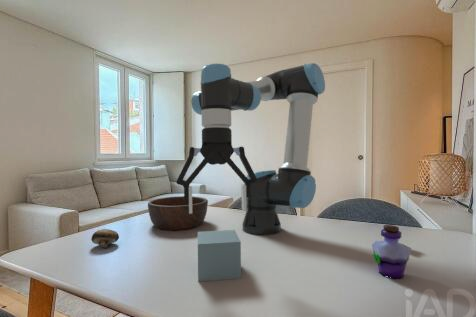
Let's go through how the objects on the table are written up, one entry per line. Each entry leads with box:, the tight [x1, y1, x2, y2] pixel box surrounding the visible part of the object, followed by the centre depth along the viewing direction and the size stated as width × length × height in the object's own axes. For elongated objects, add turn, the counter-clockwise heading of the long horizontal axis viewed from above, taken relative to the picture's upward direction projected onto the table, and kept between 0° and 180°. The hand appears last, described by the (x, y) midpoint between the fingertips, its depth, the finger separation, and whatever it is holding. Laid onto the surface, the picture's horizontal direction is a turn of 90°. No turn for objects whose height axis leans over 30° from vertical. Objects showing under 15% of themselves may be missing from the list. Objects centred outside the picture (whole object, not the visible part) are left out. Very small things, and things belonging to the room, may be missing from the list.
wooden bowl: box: [147, 195, 209, 231], centre depth 115 cm, size 25×25×10 cm
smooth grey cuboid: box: [197, 229, 242, 282], centre depth 69 cm, size 10×10×9 cm
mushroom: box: [90, 228, 120, 249], centre depth 88 cm, size 8×8×6 cm
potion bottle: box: [371, 224, 412, 280], centre depth 66 cm, size 9×9×12 cm
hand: (217, 211), depth 68 cm, fingers open, 13 cm apart
